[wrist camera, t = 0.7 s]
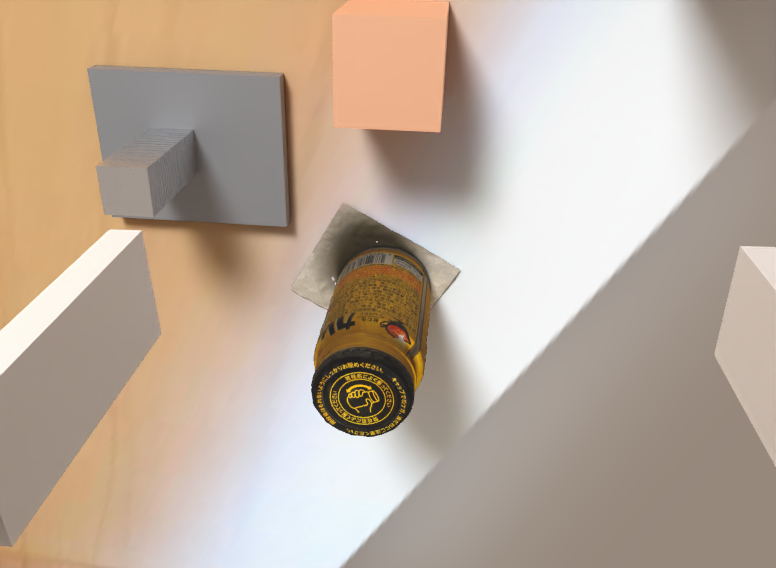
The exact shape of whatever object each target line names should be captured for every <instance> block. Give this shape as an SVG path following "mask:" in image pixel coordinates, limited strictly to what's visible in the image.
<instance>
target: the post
mask: <svg viewBox="0 0 776 568" xmlns="http://www.w3.org/2000/svg"><path fill="white" fill-rule="evenodd" d="M96 169H97V175H98V181H99V187H100V192H101V198H102V204H103V209H104V214H105V215H123V216H140V217H155V215H156V214H157V213H158V212H159V211H160V210H161V209H162V208H163V207H164V206H165V205H166V204H167V203H168V202H169V201H170V200H171V199H172V198H173V197H174V196H175V195H176V194H177V193H178V192H179V191H180V190H181V189H182V188H183V187H184V186H185V185H186V184H187V183H188V182H189V181H190V180H191V179H192V178H193V177H194V176H195V175H196V174H197V173H198V166H197V156H196V147H195V137H194V129H174V128H153V127H150V128H148V129H147V130H146V131H144V132H143V133H141V134H140V135H138V136H137V137H136V138H134V139H133V140H131V141H130V142H129V143H127V144H126V145H124V146H123V147H122V148H120V149H119V150H117V151H116V152H114V153H113V154H112V155H110V156H109V157H107V158H106V159H105V160H103V161H102V162H100V163H99V164H98V165H96Z"/></svg>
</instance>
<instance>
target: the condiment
mask: <svg viewBox="0 0 776 568" xmlns="http://www.w3.org/2000/svg"><path fill="white" fill-rule="evenodd" d="M376 241H378V243H376ZM459 271H460V269H458V268H456V267H455V266H453V265H451V264H450V263H448V262H446V261H445V260H443V259H441V258H440V257H438V256H436V255H435V254H433V253H430V252H429V251H428V250H426V249H424V248H423V247H421V246H419V245H418V244H415V243H414V242H412V241H411V240H409V239H407V238H405V237H403V236H401V235H400V234H398V233H395V232H393V231H391V230H390V229H388V228H387V227H385V226H384V225H382V224H380V223H378V222H377V221H375V220H374V219H372V218H370V217H368V216H366V215H364V214H362V213H360V212H358V211H356V210H355V209H353V208H352V207H350V206H348V205H347V204H345V203H343V204H342V205H341V207H340V208H339V210H338V212H337V213H336V215H335V217H334V218H333V220H332V222H331V223H330V225H329V226H328V228H327V230H326V232H325V233H324V235H323V236H322V238H321V240H320V241H319V243H318V245H317V246H316V248H315V250H314V251H313V253H312V254H311V256H310V258H309V260H308V261H307V263H306V265H305V266H304V268H303V269H302V271H301V273H300V274H299V276H298V278H297V279H296V281H295V283H294V284H293V286H292V288H291V290H292V291H294V292H296V293H297V294H299V295H300V296H302V297H304V298H306V299H309V300H310V301H312V302H313V303H315V304H317V305H319V306H321V307H323V308H325V309H327V310H328V311H327V314H326V317H325V320H324V323H323V325H322V328H321V331H320V335H319V338H318V341H317V344H316V348H315V353H314V366H315V373H314V375H313V380H312V384H311V386H312V389H311V392H312V398H313V404H314V406H315V408H316V409H317V410H318V412H319V413H320V415H321V416H322V417H323V418H324V420H325V421H326V422H327V423H329V424H330V425H332V426H333V427H335V428H336V429H338V430H340V431H343V432H345V433H348V434H350V435H358V436H366V437H374V436H377V435H382V434H384V433H387V432H389V431H391V430H393V429H395V428H396V427H397V426H398V425H399V424H400V423H401V422H403V421H404V419H405V418H406V417H407V416H408V415H409V413H410V411H411V409H412V405H413V401H414V393H415V390H416V389H417V388H418V386H419V384H420V382H421V380H422V377H423V375H424V367H425V362H426V358H425V356H426V353H427V351H426V350H427V344H426V341H427V336H428V327H429V317H430V310H431V308H432V307H433V306H434V304H435V303H436V302H437V300H438V299H439V298H440V296H441V295H442V294H443V292H444V291H445V290H446V288H447V287H448V286H449V284H450V283H451V282H452V280H453V279H454V278H455V276H456V275H457V274H458V272H459ZM332 276H333V277H334V279H335V281H333V280H332V279H331V277H332ZM335 282H336V283H337V284H336V286H335V284H334V283H335Z"/></svg>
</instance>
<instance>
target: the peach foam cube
mask: <svg viewBox="0 0 776 568" xmlns="http://www.w3.org/2000/svg"><path fill="white" fill-rule="evenodd" d="M448 14H449V1H424V0H349V1H348V2H346V3H345V4H344V5H343V6H342V7H340V8H339V9H338V10H337V11H336V12H334V13H333V14H332V41H333V117H334V127H337V128H358V129H379V130H400V131H421V132H440V131H441V121H442V110H443V100H444V83H445V66H446V49H447V31H448Z"/></svg>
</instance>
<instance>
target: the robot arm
mask: <svg viewBox="0 0 776 568" xmlns="http://www.w3.org/2000/svg"><path fill="white" fill-rule="evenodd" d="M160 335H161V329H160V324H159V318H158V313H157V308H156V303H155V297H154V292H153V287H152V282H151V276H150V271H149V266H148V261H147V255H146V250H145V245H144V240H143V234H142V230H108V231H107V232H106V233H105V234H104V235H103V236H102V237H101V238H100V239H99V240H98V241H97V242H96V243H94V244H93V245H92V246H91V247H90V248H89V249H88V250H87V251H86V252H85V253H84V254H83V255H82V256H81V257H79V258H78V259H77V260H76V261H75V262H74V263H73V264H72V265H71V266H70V267H69V268H68V269H67V270H65V271H64V272H63V273H62V274H61V275H60V276H59V277H58V278H57V279H56V280H55V281H54V282H53V283H51V284H50V285H49V286H48V287H47V288H46V289H45V290H44V291H43V292H42V293H41V294H40V295H39V296H37V297H36V298H35V299H34V300H33V301H32V302H31V303H30V304H29V305H28V306H27V307H26V308H25V309H23V310H22V311H21V312H20V313H19V314H18V315H17V316H16V317H15V318H14V319H13V320H12V321H11V322H9V323H8V324H7V325H6V326H5V327H4V328H3V329H2V330H1V331H0V546H10V547H12V546H13V545H14V543H15V542H16V541H17V539H18V538H19V536H20V535H21V533H22V532H23V531H24V529H25V528H26V526H27V525H28V523H29V522H30V521H31V519H32V518H33V516H34V515H35V513H36V512H37V511H38V509H39V508H40V506H41V505H42V503H43V502H44V501H45V499H46V498H47V496H48V495H49V493H50V492H51V491H52V489H53V488H54V486H55V485H56V483H57V482H58V481H59V479H60V478H61V476H62V475H63V473H64V472H65V470H66V469H67V468H68V466H69V465H70V463H71V462H72V460H73V459H74V458H75V456H76V455H77V453H78V452H79V450H80V449H81V448H82V446H83V445H84V443H85V442H86V440H87V439H88V438H89V436H90V435H91V433H92V432H93V430H94V429H95V428H96V426H97V425H98V423H99V422H100V420H101V419H102V418H103V416H104V415H105V413H106V412H107V410H108V409H109V408H110V406H111V405H112V403H113V402H114V400H115V399H116V398H117V396H118V395H119V393H120V392H121V390H122V389H123V387H124V386H125V385H126V383H127V382H128V380H129V379H130V377H131V376H132V375H133V373H134V372H135V370H136V369H137V367H138V366H139V365H140V363H141V362H142V360H143V359H144V357H145V356H146V355H147V353H148V352H149V350H150V349H151V347H152V346H153V345H154V343H155V342H156V340H157V339H158V337H159V336H160ZM714 355H715V357H716V359H717V361H718V362H719V365H720V366H721V368H722V370H723V372H724V374H725V376H726V377H727V379H728V381H729V383H730V385H731V386H732V388H733V390H734V392H735V394H736V396H737V397H738V399H739V401H740V403H741V405H742V407H743V408H744V410H745V412H746V414H747V416H748V417H749V419H750V421H751V423H752V425H753V426H754V428H755V430H756V432H757V434H758V435H759V437H760V439H761V441H762V443H763V445H764V447H765V448H766V450H767V452H768V454H769V455H770V457H771V459H772V461H773V463H774V465H775V467H776V247H754V246H740V249H739V253H738V258H737V262H736V266H735V270H734V274H733V278H732V283H731V287H730V291H729V295H728V300H727V304H726V308H725V312H724V316H723V320H722V325H721V329H720V333H719V337H718V341H717V345H716V350H715V354H714Z"/></svg>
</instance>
